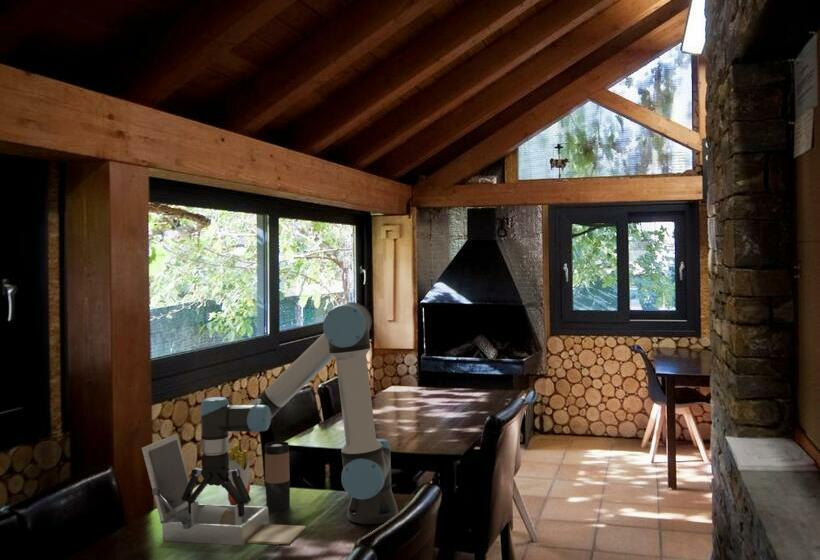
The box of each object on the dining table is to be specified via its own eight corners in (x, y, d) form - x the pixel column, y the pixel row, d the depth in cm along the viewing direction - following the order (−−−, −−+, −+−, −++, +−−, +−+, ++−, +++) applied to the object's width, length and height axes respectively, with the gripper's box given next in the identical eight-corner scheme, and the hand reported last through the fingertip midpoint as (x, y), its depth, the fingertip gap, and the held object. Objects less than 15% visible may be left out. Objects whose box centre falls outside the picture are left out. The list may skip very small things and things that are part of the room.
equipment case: (268, 523, 204) (266, 435, 204) (240, 547, 186) (238, 450, 186) (176, 519, 210) (174, 433, 210) (140, 541, 192) (138, 448, 192)
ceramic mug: (222, 538, 193) (222, 510, 193) (196, 536, 195) (196, 508, 195) (242, 526, 203) (241, 500, 203) (217, 524, 205) (217, 498, 205)
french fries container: (251, 496, 231) (250, 442, 231) (242, 506, 220) (240, 450, 220) (237, 496, 231) (236, 442, 231) (228, 507, 220) (226, 450, 220)
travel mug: (295, 505, 220) (294, 442, 220) (278, 512, 213) (277, 448, 213) (277, 502, 224) (276, 440, 224) (260, 509, 217) (259, 445, 218)
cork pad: (306, 528, 199) (306, 526, 199) (289, 545, 187) (289, 542, 187) (267, 526, 202) (267, 524, 202) (247, 542, 189) (247, 540, 189)
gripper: (261, 450, 199) (262, 524, 199) (182, 447, 204) (183, 519, 204) (249, 456, 192) (251, 533, 192) (168, 453, 197) (169, 528, 197)
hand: (216, 526), depth 198 cm, fingers open, 13 cm apart
